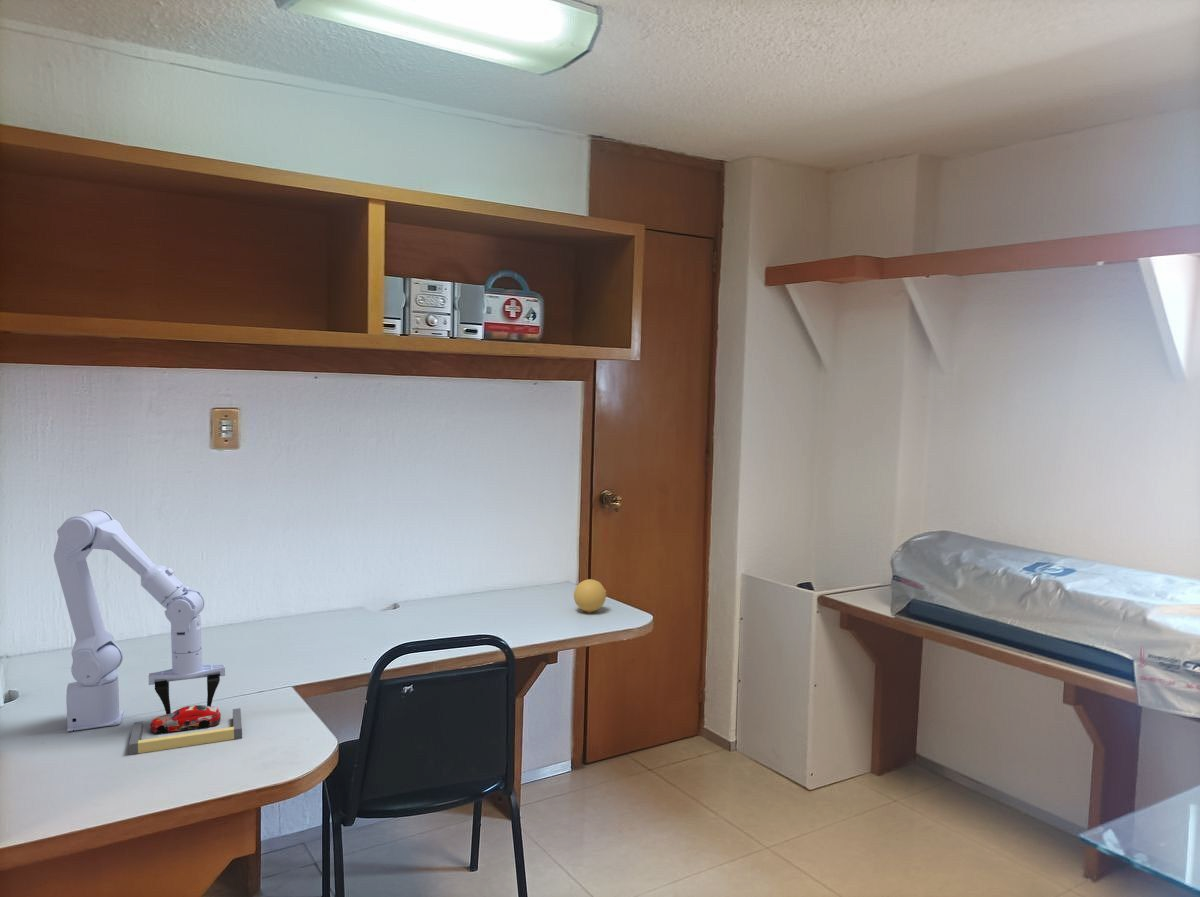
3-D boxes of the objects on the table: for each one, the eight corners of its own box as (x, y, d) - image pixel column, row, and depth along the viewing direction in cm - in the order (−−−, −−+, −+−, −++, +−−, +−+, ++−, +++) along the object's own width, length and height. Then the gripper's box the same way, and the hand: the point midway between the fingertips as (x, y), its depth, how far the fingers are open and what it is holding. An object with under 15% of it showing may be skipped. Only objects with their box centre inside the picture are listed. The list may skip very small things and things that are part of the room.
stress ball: (596, 619, 265) (617, 595, 268) (575, 597, 263) (596, 573, 266) (583, 616, 274) (604, 593, 278) (562, 594, 272) (584, 571, 275)
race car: (148, 737, 177) (147, 718, 176) (152, 727, 182) (151, 708, 181) (220, 728, 181) (219, 709, 181) (221, 718, 186) (220, 700, 186)
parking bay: (129, 754, 168) (128, 744, 168) (134, 732, 178) (134, 722, 178) (242, 738, 176) (241, 728, 176) (240, 717, 186) (240, 708, 186)
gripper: (224, 640, 190) (226, 701, 192) (149, 648, 185) (151, 710, 186) (224, 649, 184) (226, 712, 185) (146, 658, 178) (149, 723, 179)
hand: (188, 712), depth 185 cm, fingers open, 7 cm apart
